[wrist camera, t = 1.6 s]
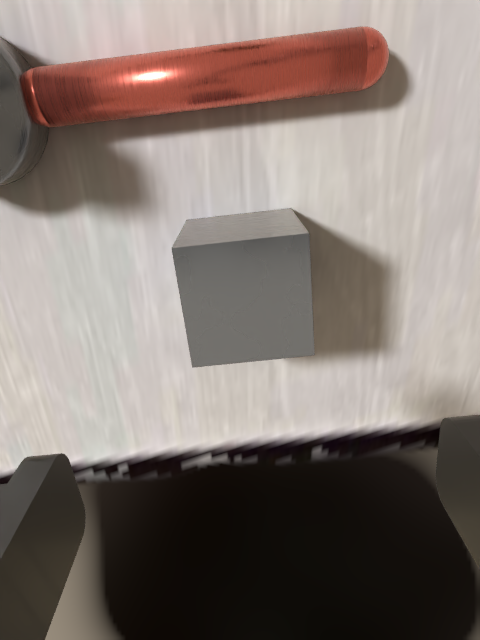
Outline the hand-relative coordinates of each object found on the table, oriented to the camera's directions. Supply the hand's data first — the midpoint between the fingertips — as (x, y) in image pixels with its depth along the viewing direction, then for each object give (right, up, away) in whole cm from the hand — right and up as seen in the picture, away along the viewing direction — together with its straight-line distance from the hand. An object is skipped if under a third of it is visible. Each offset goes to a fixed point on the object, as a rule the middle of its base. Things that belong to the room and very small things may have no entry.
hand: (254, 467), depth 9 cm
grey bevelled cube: (0, +6, +14) cm, 16 cm away
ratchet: (-5, +14, +11) cm, 19 cm away
